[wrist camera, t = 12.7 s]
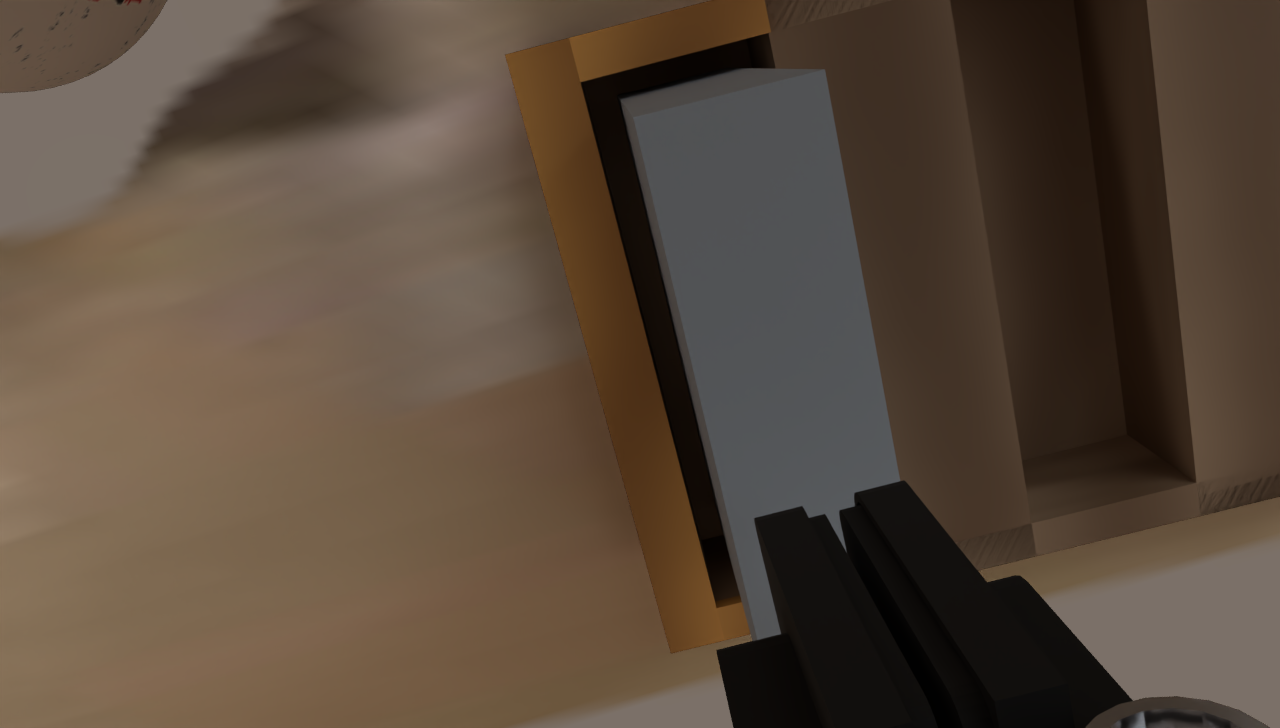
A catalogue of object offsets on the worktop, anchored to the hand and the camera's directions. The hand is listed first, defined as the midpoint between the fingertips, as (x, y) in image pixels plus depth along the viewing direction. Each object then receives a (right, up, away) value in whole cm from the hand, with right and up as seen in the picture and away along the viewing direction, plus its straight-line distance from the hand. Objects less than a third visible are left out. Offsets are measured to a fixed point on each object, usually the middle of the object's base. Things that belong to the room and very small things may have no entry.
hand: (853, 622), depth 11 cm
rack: (+6, +6, +14) cm, 16 cm away
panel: (0, +4, +12) cm, 13 cm away
